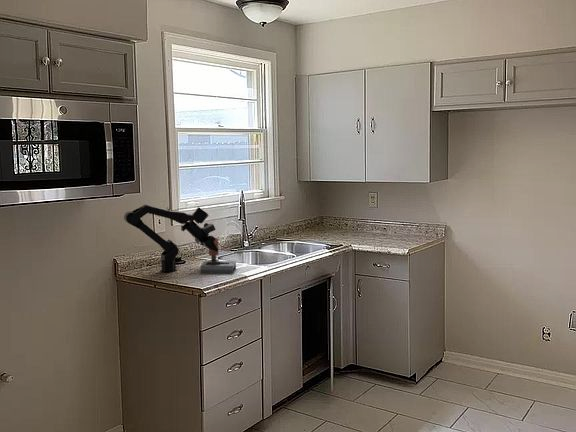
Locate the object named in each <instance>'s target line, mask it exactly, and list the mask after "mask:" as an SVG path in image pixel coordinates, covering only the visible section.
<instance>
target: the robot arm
mask: <svg viewBox="0 0 576 432" xmlns="http://www.w3.org/2000/svg"><path fill="white" fill-rule="evenodd" d="M148 214H150V215H155V216H157V217H158V216H159V217H163V218H167V219H170V220H172V221H174V222H177V223H179V224H181V225H180V231H182V232H185V231H187V233H189V234H190V235H191V236H192V237H193V238H194V242H196V244H199V245H200V246H203V247H205V248H207V249H208V250H209V249H212V250H214V251H218V252H219V247H218V248H217V247H216V245H215V244H214V241H215V239H216V238H217V237H215V236H213V235H210V234H209V233H212V232H215V231H216V227H215V225H214V224H213V223H208V222H204V221H206V219H207V218H208V217H209V214H208V212H206V211H205V210H204V209H202V208H201V207H199V206H198V207H197V208H196V210H194V212H193V213H192V214H190V213H186V212H183V211H175V210H172V211H171V210H166V209H163V208H159V207H155V206H153V205H152V206H151V205H148V204H143V205H142V206H140V207H138V208H136V209H133V210H132V211H126V213H124V215H123V220H124V222H126V223H128V224H129V225H131V226H133V227H134V228H136V229H138V230H139V231H141V232H142V233H144V234H145V235H146V236H147V237H149V239H151V240H152V241H153V242H154V243H156V244H157V245H159V247H160V248H161V249H162V252H161V253H160V257H161V260H160V261H161V262H160V263H161V265H160V266H161V268H160V270H159V272H162V273H166V274H168V273H173V272H177V271H178V269H177V265H176V264H177V262H176V257H177V256H178V255H179V251H180V250H179V249H180V248H179V247H178V245H177V244H176V243H174V242H173V241H172V240H171V239H170V238H169V239H167V240H165V239H164V238H163V237H162V236H160V235H159V234H158V233H157V232H156V231H154V230H153V229H152V228H151V227H149V226H148V225H147V224H146V223H145V222H143V220H142V218H143V217H144V216H146V215H148ZM203 222H204V224H203ZM199 224H203V227H200V226H199Z"/></svg>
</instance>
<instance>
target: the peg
mask: <svg viewBox="0 0 576 432" xmlns="http://www.w3.org/2000/svg"><path fill="white" fill-rule="evenodd" d="M215 238H216V239H215V241H214V244H215V245H216V247H217V248H218V249H219V238H218V237H215ZM208 255H209V256H210V257H211V259H209V260H208V261H220V260H219V259H217V256H218V255H219V250H218V251H214V250H212V249H209V248H208Z"/></svg>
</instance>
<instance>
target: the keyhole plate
mask: <svg viewBox="0 0 576 432" xmlns="http://www.w3.org/2000/svg"><path fill="white" fill-rule="evenodd" d="M199 267H200V274H202V275H203V274H216V275H217V274H227V275H228V274H234V270H235V269H237V261H236V260H219V261H209V260H204V261H203V262H202V264H201V265H200V266H199Z"/></svg>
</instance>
